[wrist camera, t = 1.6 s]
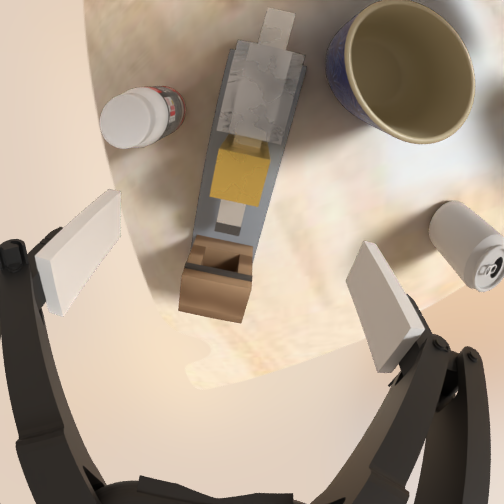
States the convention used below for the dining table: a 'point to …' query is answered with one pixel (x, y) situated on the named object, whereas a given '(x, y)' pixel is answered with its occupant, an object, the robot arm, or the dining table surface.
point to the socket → (217, 279)
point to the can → (468, 245)
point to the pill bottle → (142, 116)
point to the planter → (402, 71)
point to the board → (206, 204)
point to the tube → (246, 148)
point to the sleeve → (260, 91)
